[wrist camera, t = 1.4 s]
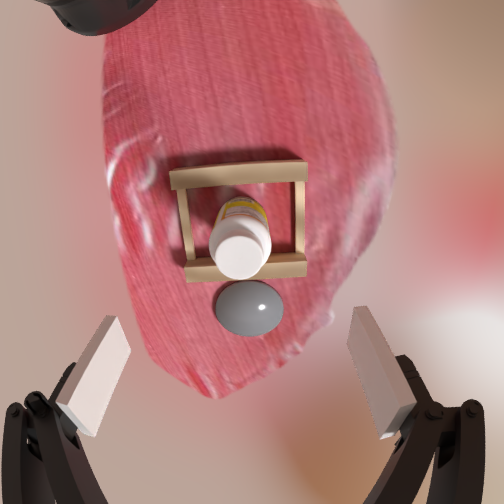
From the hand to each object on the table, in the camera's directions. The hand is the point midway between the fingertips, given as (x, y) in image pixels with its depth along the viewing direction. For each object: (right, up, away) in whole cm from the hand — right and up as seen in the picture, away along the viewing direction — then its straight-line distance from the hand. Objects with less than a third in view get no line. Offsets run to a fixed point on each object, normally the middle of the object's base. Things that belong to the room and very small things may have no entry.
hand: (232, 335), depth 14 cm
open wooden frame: (0, +8, +17) cm, 19 cm away
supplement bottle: (0, +8, +17) cm, 19 cm away
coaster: (+1, -3, +22) cm, 23 cm away
